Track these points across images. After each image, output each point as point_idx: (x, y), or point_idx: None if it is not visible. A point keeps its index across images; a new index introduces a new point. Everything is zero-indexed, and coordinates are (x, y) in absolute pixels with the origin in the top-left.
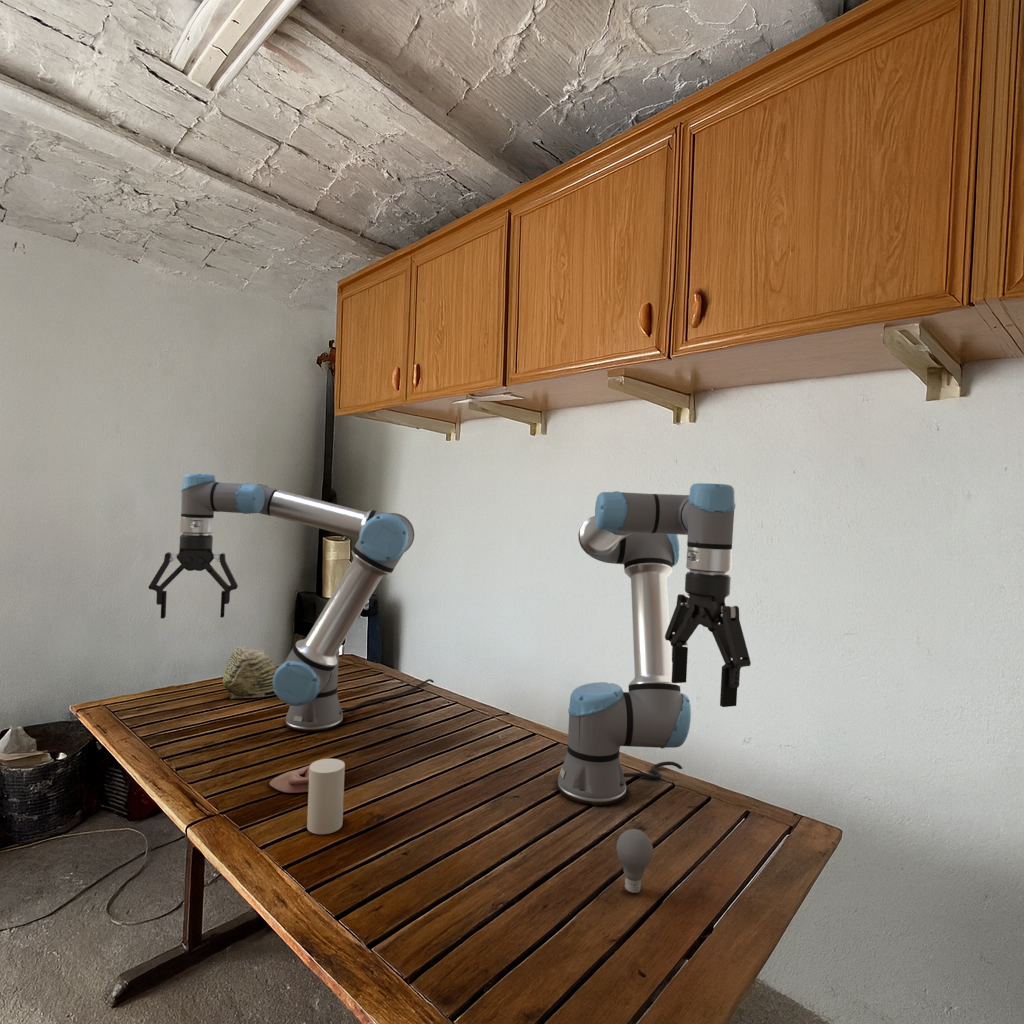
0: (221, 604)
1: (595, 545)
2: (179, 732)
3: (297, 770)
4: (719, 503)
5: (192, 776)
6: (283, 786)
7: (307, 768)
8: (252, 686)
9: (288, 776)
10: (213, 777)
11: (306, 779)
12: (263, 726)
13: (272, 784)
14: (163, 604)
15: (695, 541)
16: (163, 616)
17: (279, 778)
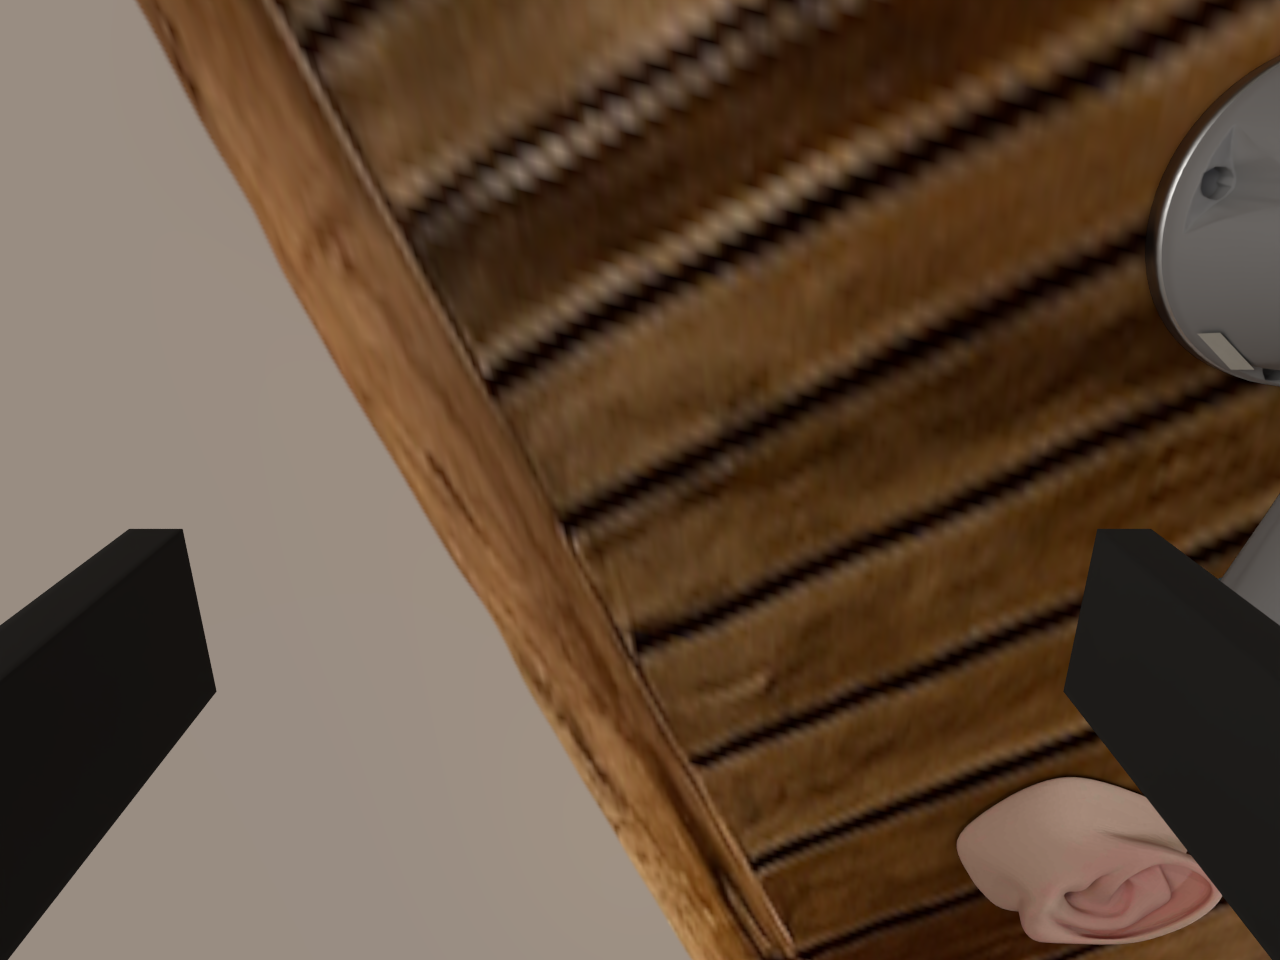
0: (1207, 859)
1: None
2: (586, 195)
3: (1066, 884)
4: None
5: (700, 714)
6: (997, 897)
7: (1104, 874)
8: None
9: (1026, 913)
10: (773, 739)
11: (1078, 943)
12: (1025, 208)
13: (965, 863)
14: (56, 876)
15: None
16: (193, 714)
17: (995, 866)
